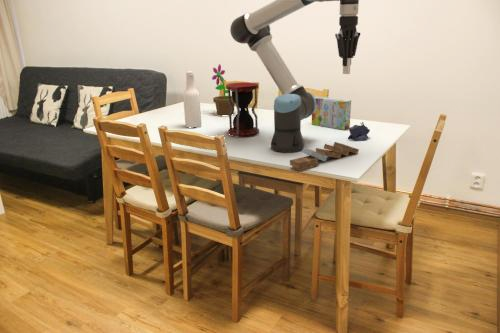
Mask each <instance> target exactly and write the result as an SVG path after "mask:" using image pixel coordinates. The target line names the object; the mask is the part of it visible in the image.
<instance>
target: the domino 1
mask: <svg viewBox="0 0 500 333" xmlns="http://www.w3.org/2000/svg"><path fill="white" fill-rule="evenodd" d="M315 151H316V150H313V149H309V148H307V147H304V148H303V150H301V153H303V154H306V156H312V157H315V158H318V161H322V162H326V161H327V159H328V156H324V155H321V154H319V153H317V152H315Z"/></svg>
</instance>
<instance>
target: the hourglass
mask: <svg viewBox="0 0 500 333" xmlns="http://www.w3.org/2000/svg"><path fill="white" fill-rule="evenodd" d="M258 88H259V84H258V83H256V82H250V81H244V82H243V81H241V82H240V81H239V82H230V83H227V84H225V90H228V93H227V96H228V100H229V104H230V105H231V108H232V111H231V113H230V115H229V116H228V117H229V120H228V121H229V129H228V130H227V133H228V135H229V134H230V135H233V136H232V137H234V136H238V137H237V138H249V136H250V137H254V136H257V135H259V134H260V129H259V128H258V115H257V113H256V112H255V108H256V106H257V105H258V104H257V103H258V93H257V92H258ZM231 96H232V99H233V101H234V103H235V105H234V106H233V104H232V103H231ZM253 100H254V104H253V105H252V107H251V112H252V115H253V116H254V118H255V119H254V118H253V116H252V115H251V113H250V110H249V105H250V104H251V103H252V101H253ZM235 107H236V112H237V114H235V116H234V118H233V119H232V116H233V115H232V113H233V112H234V113H235ZM254 120H255V123H254ZM230 135H229V136H230Z"/></svg>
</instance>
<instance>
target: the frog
mask: <svg viewBox="0 0 500 333" xmlns="http://www.w3.org/2000/svg"><path fill="white" fill-rule="evenodd" d="M359 124H360V125H358V124H354V125H353V126H352V127H351V126H350V128H349V133H350V134H349V136H348V138H347V139H348V140H349V139H350V138H352V139H354V141H355V142H359V141H360V142H361V141H365V140H366V141H367V139H369V136H368V134H369V133H370V132H371V130H370V128H368V127H367V126H366V125H365V123H364V122H363V121H362V122H360V123H359Z"/></svg>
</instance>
